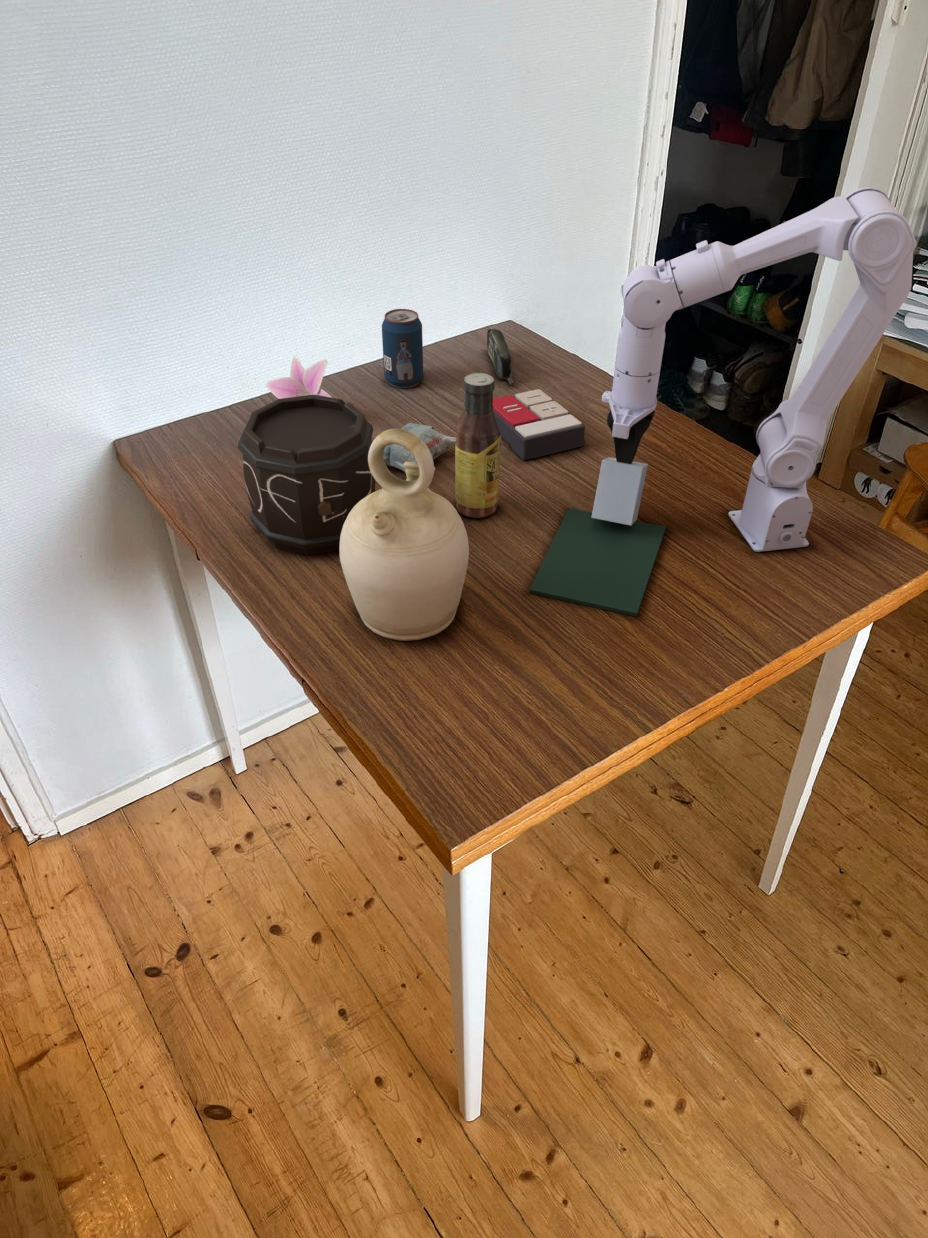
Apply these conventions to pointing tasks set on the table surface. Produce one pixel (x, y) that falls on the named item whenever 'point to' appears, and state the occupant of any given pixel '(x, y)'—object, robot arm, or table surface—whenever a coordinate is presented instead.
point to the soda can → (402, 348)
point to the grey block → (619, 491)
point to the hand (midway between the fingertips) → (624, 460)
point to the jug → (404, 548)
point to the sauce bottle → (477, 450)
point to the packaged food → (427, 434)
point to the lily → (300, 381)
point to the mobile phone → (499, 354)
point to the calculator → (537, 424)
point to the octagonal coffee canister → (306, 470)
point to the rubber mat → (599, 563)
